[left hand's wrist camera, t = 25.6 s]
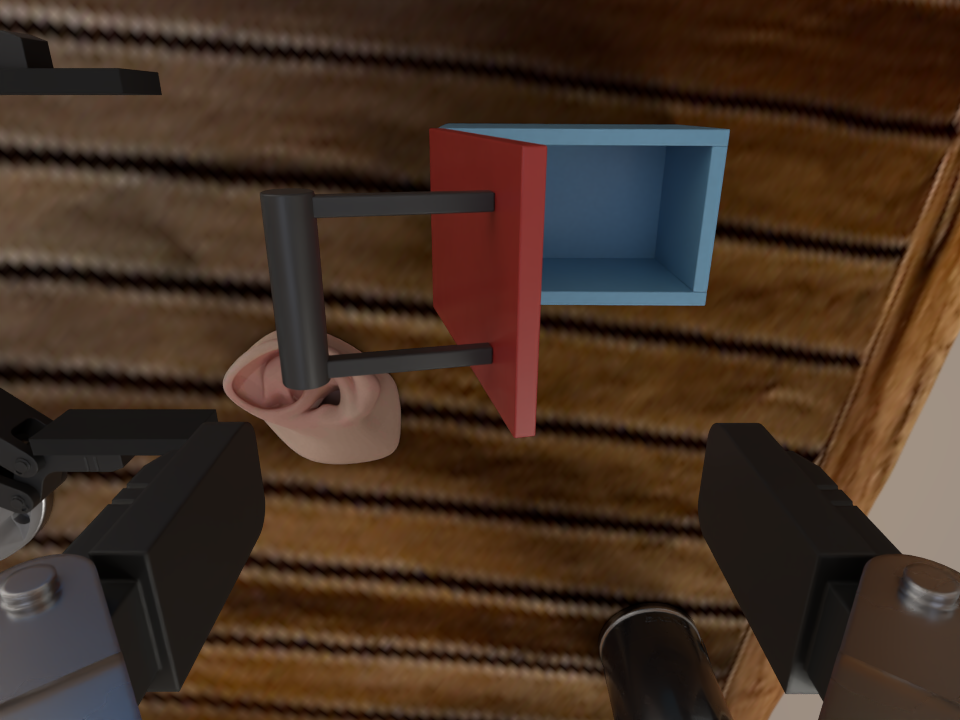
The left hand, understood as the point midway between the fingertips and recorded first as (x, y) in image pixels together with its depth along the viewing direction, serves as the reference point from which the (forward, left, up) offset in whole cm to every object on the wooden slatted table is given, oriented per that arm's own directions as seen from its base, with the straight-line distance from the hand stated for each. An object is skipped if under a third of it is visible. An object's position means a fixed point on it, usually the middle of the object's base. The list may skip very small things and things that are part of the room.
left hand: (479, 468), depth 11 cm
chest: (+1, -6, -36) cm, 37 cm away
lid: (0, 0, -18) cm, 18 cm away
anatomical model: (-18, +9, -36) cm, 42 cm away
